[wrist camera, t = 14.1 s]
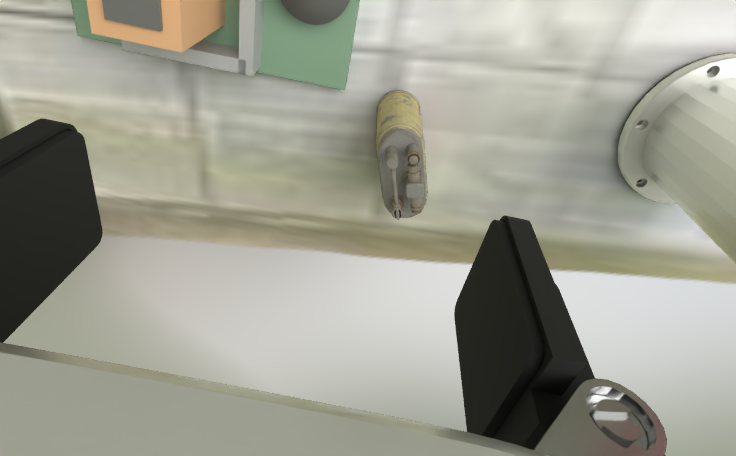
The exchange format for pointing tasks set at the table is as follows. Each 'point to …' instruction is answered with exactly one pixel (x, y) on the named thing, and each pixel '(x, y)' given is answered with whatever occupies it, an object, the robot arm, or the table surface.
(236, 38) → the green walled tray
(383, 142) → the lighter
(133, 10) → the chute block
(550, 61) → the table surface
